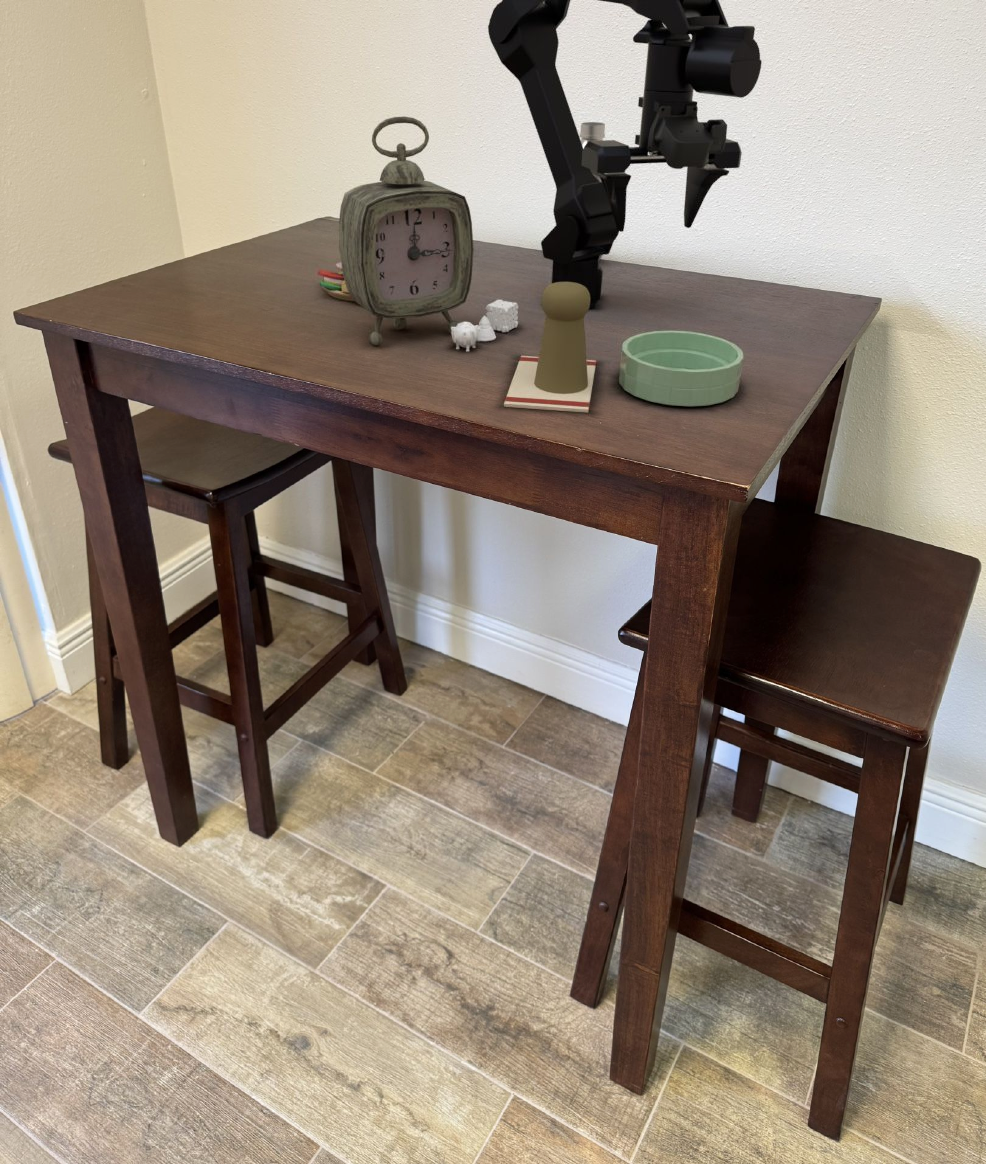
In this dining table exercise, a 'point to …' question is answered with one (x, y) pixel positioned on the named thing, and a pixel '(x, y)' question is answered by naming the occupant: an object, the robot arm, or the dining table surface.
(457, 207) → the tabletop clock
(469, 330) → the game pieces
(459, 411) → the dining table surface
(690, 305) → the dining table surface
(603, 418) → the dining table surface
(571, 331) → the cork
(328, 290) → the toy food set
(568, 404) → the towel
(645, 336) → the bowl
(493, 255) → the dining table surface
